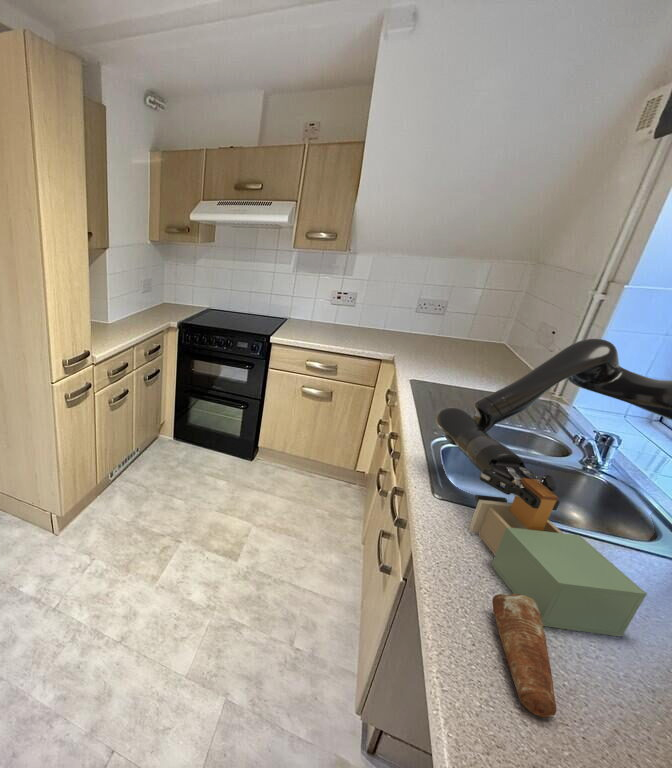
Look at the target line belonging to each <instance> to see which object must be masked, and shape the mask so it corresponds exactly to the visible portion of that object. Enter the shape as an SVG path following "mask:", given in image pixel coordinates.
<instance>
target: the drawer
mask: <svg viewBox="0 0 672 768" xmlns="http://www.w3.org/2000/svg"><path fill="white" fill-rule="evenodd" d="M473 498H474V501H475V502H477V504H476V507H475V510H474V513H473V515H472V518H471V521H470V524H469V526H468V530H469V531H470V532H471V533H477V534H478V537H479V538H480V539H481V540H482V541H483V543H484V544H485V545H486V547H488V549H489V550H490V551H491V553H493V555H494V556H495V555H496V553H497V550H498V548H499V545H500V543H501V540H502V538H503V535H504V533H505V530H506V527H510V528H519V529H527V528H526V527H525V526H524V525H523V524H522V523H521V522H520V521H519V520H518V519H517V518H516V517H515V516H514V515H513V514H512V513H511V512H510V508H511V505H512V503H513V502H508V499H507V498H506V497H502V496H491V495H481V494H475V495H474V497H473ZM543 531H546V532H555V533H563V531H562V530H561V529H559V528H558V527H557V526H556V525H555V524H554V523H553V522H551V520H549V519H548V521H547V523H546V525H545V528H544V530H543Z"/></svg>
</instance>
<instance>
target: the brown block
mask: <svg viewBox="0 0 672 768" xmlns="http://www.w3.org/2000/svg"><path fill="white" fill-rule="evenodd" d="M521 482H522V483H523V484H524V485H525V486H526V488H527V489H529V490H531V491H532V492H533V493H534V494H535V495H536V496H538V497H539V498H540V499H541V504H540V506H539V508H532V507H531V506H530V505H528V504H527V503H526V502H525V501H524V500H522V499H521V498H520V497H517V496H515V495H514V498H513V499H512V500H513V501H512V502H511V503H512V505H511V508H510V512H511V513H512V514H513V515H514V516H515V517H516V518H517V519H518V520H519V521H520V522H521V523H522V524H523V525H524V526H525V527H526V528H527V529H528V530H537V531H543V530H544V528H545V525H546V523H547V521H548V520H549V518H550V517H551V514H552V512H553V510H552V509H553V507H554V505H555V503H556V501H557V500H559V497H558V496H557V495H556V494H555V493H554V494H553V493H552V492H551V491H550V490H548V489H547V488H546V487H545V486H543V485H542V484H541V483H540V482H539V481H537V480H536V479H526V478H522V479H521Z"/></svg>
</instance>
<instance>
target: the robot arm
mask: <svg viewBox="0 0 672 768" xmlns="http://www.w3.org/2000/svg"><path fill="white" fill-rule="evenodd" d="M564 380H568V381H569V383H571V384H573V385H574V386H576V387H578V388H581V389H583V390H587V391H590V392H593V393H596V394H600V395H603V396H606V397H609V398H612V399H615V400H619V401H621V402H625V403H628V404H629V405H632V406H635V407H637V408H640V409H642V410H645V411H647V412H650V413H652V414H655V415H657V416H660V417H662V418H665V419H667V420H670V421H672V379H671V380H669V379H656V378H652V377H648V376H644V375H642V374H638V373H636V372H633V371H630V370H628V369H627V368H624V367H622V366H620V362H619V353H618V350H617V347H616V346H615V345H614V344H613V343H612V342H611V341H609V340H606V339H602V338H586V339H582V340H579V341H576V342H573V343H572V344H570V345H568V346H566V347H565V348H563V349H562V350H561V351H559V352H557V353H556V354H555V355H553V356H551V357H550V358H549V359H547V360H545V361H544V362H543V363H540V365H538V366H537V367H535V368H534V369H532V370H531V371H529V372H528V373H526V374H524V375H523V376H521V377H520V378H518V379H516V380H515V381H513V382H511V383H510V384H508V385H506V386H504V387H502V388H499V389H498V390H496V391H493V392H492V393H490V394H488V395H485V396H483V397H482V398H479V399H478V400H476V401H474V402H473V411H474V413H473V414H474V415H473V416H471V415H470V414H469V413H468V412H466V410H464V409H462V408H461V407H455V406H448V407H445V408H442V409H441V410H439V411H438V413H437V414H436V417H435V422H436V425H437V426H438V428H439V429H440V431H441V432H442V434H443V436H444V437H445V439H446V441H447V442H448V443H449V444H450V445H452V446H457V448H458V449H459V450H460V451H461V452H462V453H463V454H464V455H465V457H467V458H468V460H469V461H470V462H471V464H473V465H474V467H476V468H477V469H478V470H479V471H480V472H481V474H480V477H479V480H480V481H481V482H483V483H485V484H487V485H488V486H490V487H492V488H494V489H496V490H498V491H499V492H501V493H503V494H505V495H508V496H509V495H511V494H513V495H514V497H515V496H517V497H520V498H521V499H522V500H524V501H525V502H526V503H527V504H528V505H530V506H531V507H532V508H539V506H540V504H541V499H540V498H539V497H538V496H536V495H535V494H534V493H533V492H532V491H531V490H529V489H527V488H526V486H525V485H524V484H523V483H522V482H521V479H522V478H526V479H536V480H537V481H539V482H540V483H541V484H542V485H543V486H545V487H546V488H547V489H548V490H550V491H551V492H552V493H553V494H554V495H555V491H556V490H557V487H556V483H555V480H554V478H553V476H552V475H550V474H544V475H543V476H540V475H536V473H535V472H533V471H532V470H530V469H528V468H527V467H526V466H525V463H524V460H523V459H522V458H521V457H520V456H519V455H518V454H516V453H515V452H514V451H513V450H511V449H510V448H509V447H508V446H506V445H505V444H504V443H503V442H501V441H500V440H497V439H496V438H494V437H493V436H492V435H491V434H489V433H487V432H489V430H491V429H492V428H493V427H494V426H496V424H498V423H501V422H502V421H505V420H507V419H510V418H511V417H513V416H516V415H518V414H519V413H522V412H523V411H525V410H527V409H528V408H529V407H531V406H532V405H533V404H535V403H536V402H537V401H538V400H539V399H540V398H541V397H542V396H544V394H546V393H547V392H548V391H549V390H551V389H553V388H554V387H555V386H556V385H558V384H560V383H561V382H563V381H564ZM560 503H561V502H560V500H559V499H558V500H557V501H556V503H555V505H554V507H553V509H552V511H557V509H558V507H559V505H560Z"/></svg>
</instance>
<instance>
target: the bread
mask: <svg viewBox="0 0 672 768" xmlns="http://www.w3.org/2000/svg"><path fill="white" fill-rule="evenodd" d="M491 602H492V609H493V610H492V611H493V617H494V619H495V622H496V626H497V627H496V628H497V630H498V631H497V632H498V634H499V637H500V641H501V645H502V647H503V651H504V654H505V657H506V660H507V664H508V667H509V670H510V674H511V678H512V680H513V683H514V686H515V689H516V691H517V696H518V699H519V701H520V702H521V704H522V706H524V707H525V708H526V709H527V710H528V711H529V712H531V714H533V715H535V716H538V717H540V718H541V717H542V718H549V717H552V716H555V715H556V714H557V703H556V697H555V689H554V681H553V676H552V669H551V663H550V662H551V661H550V657H549V650H548V646H547V638H546V637H547V636H546V633H545V629H544V626H543V623H542V618H541V615H540V611H539V609H538V606H537V604H536V602H535V601H534V600H533V599H532V598H530V597H526V596H524V595H521V594H513V593H510V594H501V593H499V594H496V595H494V596H493V597H492V601H491Z"/></svg>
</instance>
